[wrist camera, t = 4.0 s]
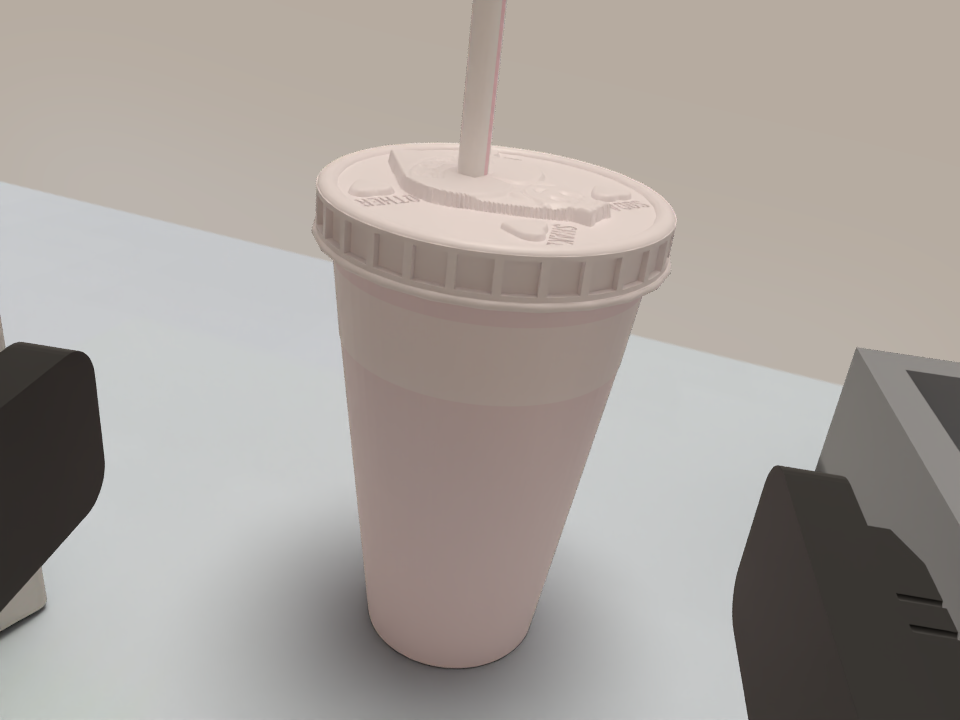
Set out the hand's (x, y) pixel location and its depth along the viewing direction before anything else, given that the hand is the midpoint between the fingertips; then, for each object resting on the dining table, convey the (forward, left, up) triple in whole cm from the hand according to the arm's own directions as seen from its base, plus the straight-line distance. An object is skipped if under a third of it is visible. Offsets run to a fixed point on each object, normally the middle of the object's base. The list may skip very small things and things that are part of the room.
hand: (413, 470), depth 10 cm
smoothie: (0, +7, -8) cm, 10 cm away
